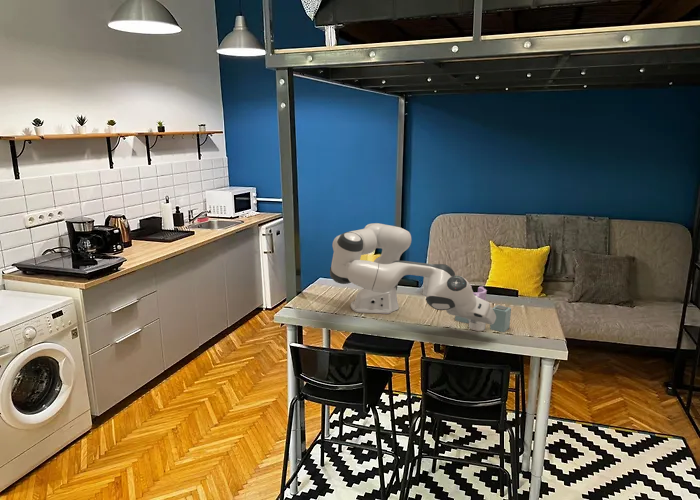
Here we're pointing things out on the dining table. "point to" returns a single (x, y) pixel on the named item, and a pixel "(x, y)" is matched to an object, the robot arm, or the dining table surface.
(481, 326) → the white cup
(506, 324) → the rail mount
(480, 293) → the clip
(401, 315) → the dining table surface
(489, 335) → the dining table surface
